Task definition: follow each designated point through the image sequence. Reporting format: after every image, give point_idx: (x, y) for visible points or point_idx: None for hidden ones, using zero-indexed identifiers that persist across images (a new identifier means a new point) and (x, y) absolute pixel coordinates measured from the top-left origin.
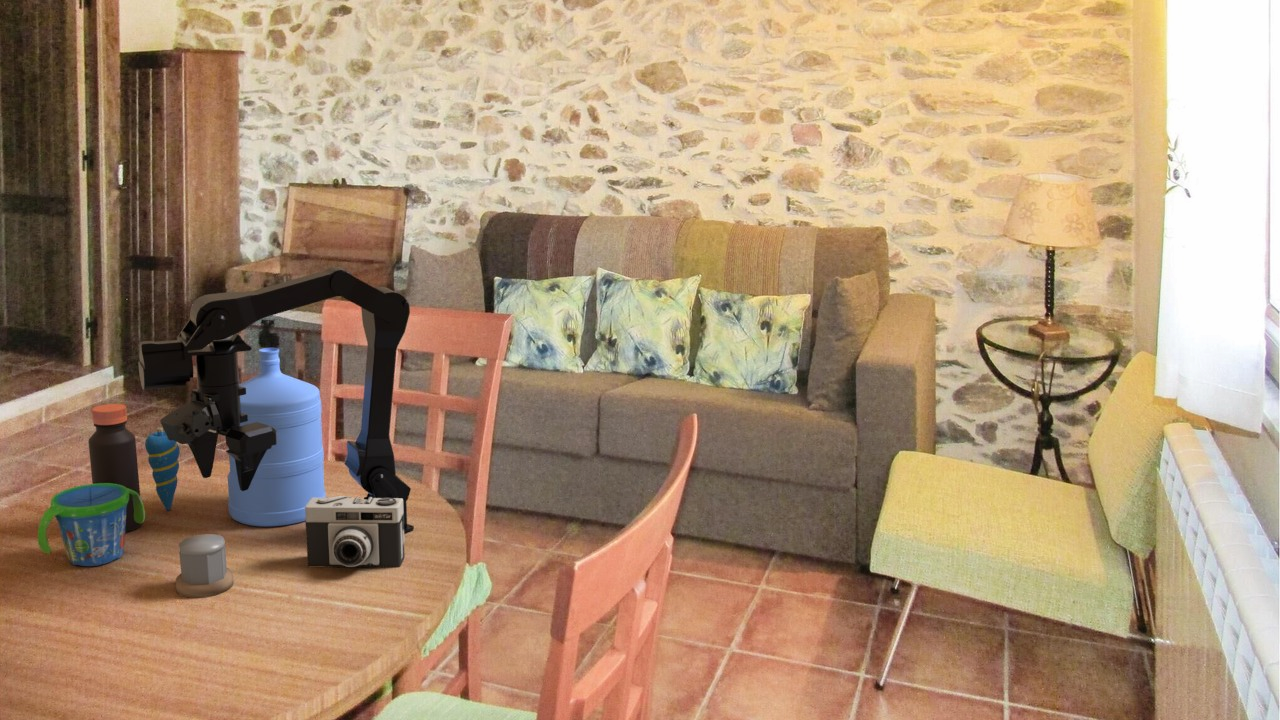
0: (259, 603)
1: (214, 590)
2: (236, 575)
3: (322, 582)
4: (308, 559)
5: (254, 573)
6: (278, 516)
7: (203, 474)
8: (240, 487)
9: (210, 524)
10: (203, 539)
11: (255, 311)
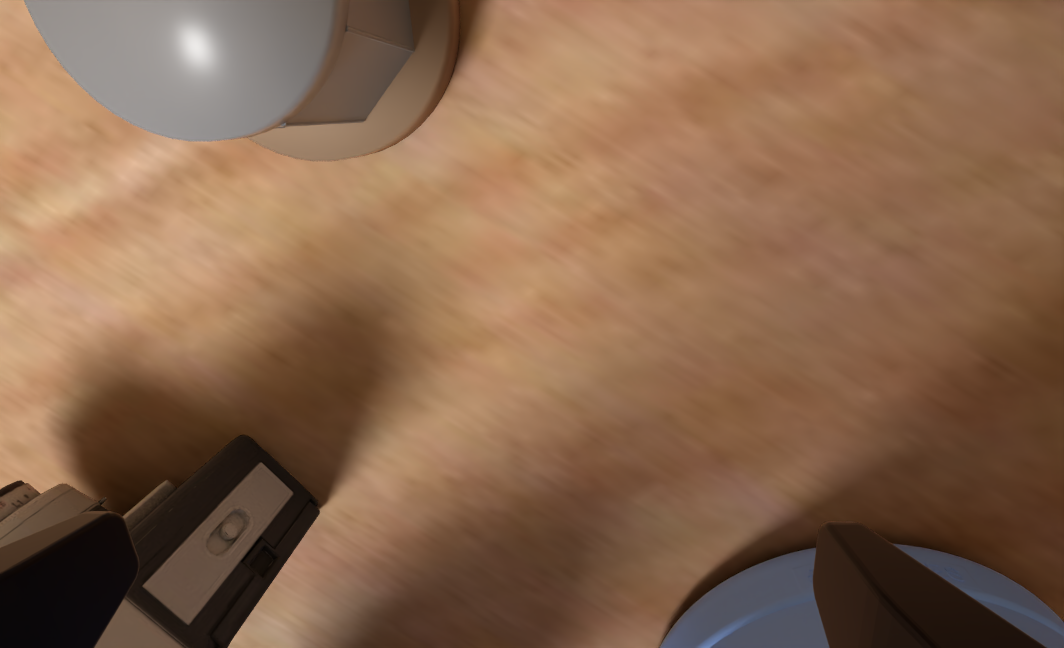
0: (10, 93)
1: None
2: (350, 196)
3: (72, 378)
4: (222, 451)
5: (317, 261)
6: (690, 639)
7: (842, 547)
8: (58, 528)
9: (1000, 462)
10: (212, 4)
11: None
